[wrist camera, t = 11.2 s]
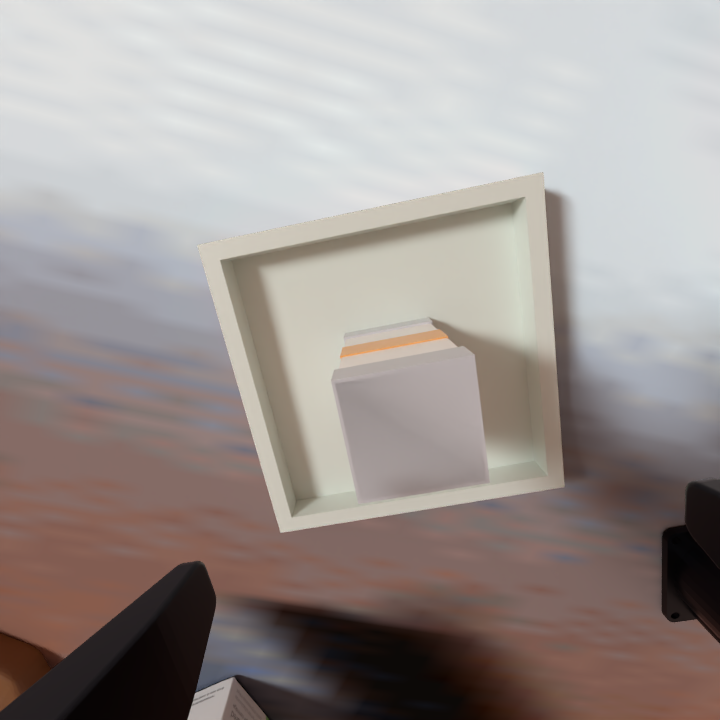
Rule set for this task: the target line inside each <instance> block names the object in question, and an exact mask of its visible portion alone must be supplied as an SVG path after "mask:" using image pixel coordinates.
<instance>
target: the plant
mask: <svg viewBox="0 0 720 720" xmlns="http://www.w3.org/2000/svg"><path fill="white" fill-rule="evenodd" d="M50 670H51V668H50V667H49V665H48V664H47V662H46V660H45V659H44V657H43V655H42V653H41V652H40V651H39V650H38V649H36V648H35V647H33V646H31V645H29V644H27V643H25V642H23V641H20V640H17V639H14V638H11V637H8V636H6V635H4V634H1V633H0V711H1V710H3V709H4V708H5V707H6V706H8V705H9V704H10V703H11V702H12V701H14V700H15V699H16V698H17V697H19V696H20V695H21V694H22V693H23V692H25V691H26V690H27V689H28V688H29V687H31V686H32V685H33V684H34V683H36V682H37V681H38V680H39V679H40V678H42V677H43V676H44V675H45V674H46V673H48V672H49V671H50Z"/></svg>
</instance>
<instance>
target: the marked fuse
mask: <svg viewBox="0 0 720 720" xmlns="http://www.w3.org/2000/svg"><path fill="white" fill-rule="evenodd" d="M344 342H345V346H344V347H342V351H341V354H340V359H341V362H340V366H339V369H335V370H334V372H333V376H332V379H331V383H332V388H333V392H334V397H335V401H336V406H337V410H338V415H339V419H340V424H341V428H342V433H343V437H344V442H345V446H346V451H347V455H348V460H349V464H350V469H351V473H352V478H353V482H354V487H355V491H356V496H357V500H358V504H363V503H369V502H375V501H381V500H387V499H394V498H400V497H406V496H412V495H418V494H424V493H431V492H437V491H443V490H449V489H455V488H462V487H468V486H474V485H480V484H486V483H490V478H489V470H488V462H487V453H486V445H485V437H484V428H483V420H482V412H481V403H480V395H479V387H478V379H477V370H476V362H475V355H474V354H473V353H472V352H471V351H469V350H468V349H467V348H466V347H464V346H460V347H457V346H456V345H455V344H454V343H453V342H452V341H450V340H449V338H448V336H447V335H446V334H445V333H444V332H443V331H441V330H440V329H438V330H437V329H436V328H435V327H434V326H433V324H432V320H430V319H429V318H428V317H427V318H422V319H417V320H411V321H406V322H401V323H395V324H390V325H385V326H380V327H374V328H369V329H364V330H358V331H353V332H348V333H345V334H344Z"/></svg>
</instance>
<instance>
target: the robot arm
mask: <svg viewBox="0 0 720 720" xmlns="http://www.w3.org/2000/svg"><path fill="white" fill-rule="evenodd" d="M685 523H686V526H684V527H677V528H671V529H668V530H666V531H665V532H664V533H663V536H662V613H663V615H664V616H665V617H666V618H667V619H668V620H669V621H671V622H680V621H687V620H694V619H697V620H698V621H699V622H700V623H701V624H702V625H703V626H704V627H705V629H706V630H707V631H708V632H709V633H710V634H711V635H712V636H713V637H714V638H715V639H716V640H717V641H718V642H719V643H720V479H715V478H710V479H704V480H697V481H692V482H690V483H688V485H687V486H686V492H685ZM215 608H216V595H215V592H214V589H213V586H212V583H211V580H210V578H209V575H208V572H207V569H206V567H205V565H204V564H203V562H201V561H194V562H188V563H182V564H180V565H178V566H177V567H175V568H174V569H173V570H172V571H170V572H169V573H168V574H167V575H166V576H164V577H163V578H162V579H161V580H159V581H158V582H157V583H156V584H155V585H153V586H152V587H151V588H150V589H149V590H147V591H146V592H145V593H144V594H142V595H141V596H140V597H139V598H138V599H136V600H135V601H134V602H133V603H132V604H130V605H129V606H128V607H127V608H125V609H124V610H123V611H122V612H121V613H119V614H118V615H117V616H116V617H115V618H113V619H112V620H111V621H110V622H108V623H107V624H106V625H105V626H104V627H102V628H101V629H100V630H99V631H97V632H96V633H95V634H94V635H93V636H91V637H90V638H89V639H88V640H87V641H85V642H84V643H83V644H82V645H80V646H79V647H78V648H77V649H76V650H74V651H73V652H72V653H71V654H70V655H68V656H67V657H66V658H65V659H63V660H62V661H61V662H60V663H59V664H57V665H56V666H55V667H54V668H53V669H51V670H50V671H49V672H48V673H46V674H45V675H44V676H43V677H42V678H40V679H39V680H38V681H37V682H36V683H34V684H33V685H32V686H31V687H29V688H28V689H27V690H26V691H25V692H23V693H22V694H21V695H20V696H19V697H17V698H16V699H15V700H14V701H12V702H11V703H10V704H9V705H8V706H6V707H5V708H4V709H3V710H1V711H0V720H187V719H188V716H189V713H190V709H191V706H192V703H193V699H194V695H195V691H196V688H197V683H198V679H199V675H200V671H201V667H202V663H203V658H204V654H205V650H206V646H207V642H208V638H209V633H210V629H211V625H212V621H213V617H214V613H215Z"/></svg>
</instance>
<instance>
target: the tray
mask: <svg viewBox="0 0 720 720" xmlns="http://www.w3.org/2000/svg"><path fill="white" fill-rule="evenodd" d="M197 246H198V250H199V253H200V257H201V260H202V264H203V267H204V270H205V274H206V277H207V281H208V284H209V288H210V291H211V295H212V298H213V301H214V305H215V308H216V312H217V315H218V319H219V322H220V326H221V329H222V332H223V336H224V339H225V343H226V346H227V350H228V353H229V357H230V360H231V364H232V367H233V370H234V374H235V377H236V381H237V384H238V388H239V391H240V395H241V398H242V401H243V405H244V408H245V412H246V415H247V419H248V422H249V426H250V429H251V432H252V436H253V439H254V443H255V446H256V450H257V453H258V457H259V460H260V464H261V467H262V470H263V474H264V477H265V481H266V484H267V488H268V491H269V495H270V498H271V501H272V505H273V508H274V512H275V515H276V519H277V522H278V526H279V529H280V533H283V532H289V531H295V530H301V529H307V528H314V527H320V526H326V525H332V524H338V523H345V522H351V521H357V520H363V519H369V518H376V517H382V516H388V515H394V514H400V513H407V512H413V511H419V510H425V509H431V508H438V507H444V506H450V505H456V504H462V503H469V502H475V501H481V500H487V499H493V498H500V497H506V496H512V495H518V494H524V493H531V492H537V491H543V490H549V489H555V488H562V487H565V485H564V470H563V455H562V441H561V426H560V411H559V396H558V382H557V367H556V352H555V337H554V323H553V308H552V293H551V278H550V264H549V249H548V234H547V219H546V205H545V190H544V175H543V172H542V173H537V174H532V175H527V176H523V177H518V178H513V179H509V180H504V181H499V182H494V183H490V184H485V185H480V186H475V187H471V188H466V189H461V190H456V191H452V192H447V193H442V194H437V195H433V196H428V197H423V198H418V199H414V200H409V201H404V202H399V203H395V204H390V205H385V206H380V207H376V208H371V209H366V210H361V211H357V212H352V213H347V214H342V215H338V216H333V217H328V218H323V219H319V220H314V221H309V222H304V223H300V224H295V225H290V226H285V227H281V228H276V229H271V230H266V231H262V232H257V233H252V234H247V235H243V236H238V237H233V238H228V239H224V240H219V241H214V242H209V243H205V244H200V245H197ZM427 317H428V318H429V319H430V320H432V324H433V326H434V327H435V328H436V329H437V330H438V329H440V330H441V331H443V332H444V333H445V334H446V335H447V336H448V338H449V340H450V341H452V342H453V343H454V344H455V345H456V346H457V347H460V346H464V347H466V348H467V349H468V350H469V351H471V352H472V353H473V354H474V355H475V362H476V370H477V379H478V387H479V395H480V403H481V412H482V420H483V428H484V437H485V445H486V453H487V462H488V470H489V478H490V483H486V484H480V485H474V486H468V487H462V488H455V489H449V490H443V491H437V492H431V493H424V494H418V495H412V496H406V497H400V498H394V499H387V500H381V501H375V502H369V503H363V504H358V500H357V496H356V491H355V487H354V482H353V478H352V473H351V469H350V464H349V460H348V455H347V451H346V446H345V442H344V437H343V433H342V428H341V424H340V419H339V415H338V410H337V406H336V401H335V397H334V392H333V388H332V383H331V379H332V376H333V372H334V370H335V369H339V366H340V362H341V359H340V354H341V351H342V347H344V346H345V342H344V334H345V333H348V332H353V331H358V330H364V329H369V328H374V327H380V326H385V325H390V324H395V323H401V322H406V321H411V320H417V319H422V318H427Z"/></svg>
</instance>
